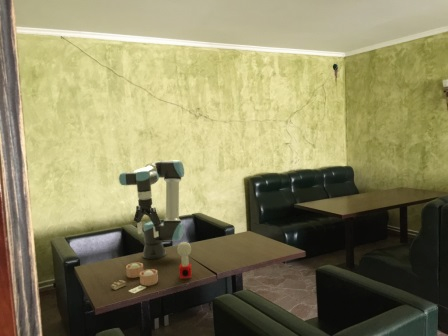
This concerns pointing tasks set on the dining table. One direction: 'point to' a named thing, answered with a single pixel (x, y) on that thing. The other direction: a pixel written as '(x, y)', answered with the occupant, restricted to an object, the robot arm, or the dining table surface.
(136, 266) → the ball sage
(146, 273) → the ball grey
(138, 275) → the cup
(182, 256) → the toy
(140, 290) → the card
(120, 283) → the cradle
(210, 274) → the dining table surface
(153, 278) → the cup
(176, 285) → the dining table surface
